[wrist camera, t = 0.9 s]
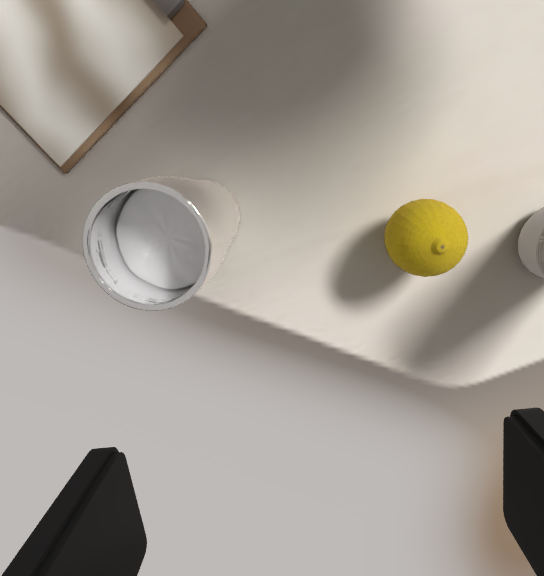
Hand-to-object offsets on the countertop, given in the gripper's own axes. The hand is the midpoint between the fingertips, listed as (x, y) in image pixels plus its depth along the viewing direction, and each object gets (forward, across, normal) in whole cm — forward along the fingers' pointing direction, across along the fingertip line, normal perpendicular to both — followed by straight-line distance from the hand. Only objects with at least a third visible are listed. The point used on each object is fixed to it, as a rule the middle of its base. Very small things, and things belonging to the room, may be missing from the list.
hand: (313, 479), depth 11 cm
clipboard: (+27, +15, -19) cm, 36 cm away
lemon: (+28, -9, -1) cm, 29 cm away
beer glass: (+28, +7, -4) cm, 29 cm away
